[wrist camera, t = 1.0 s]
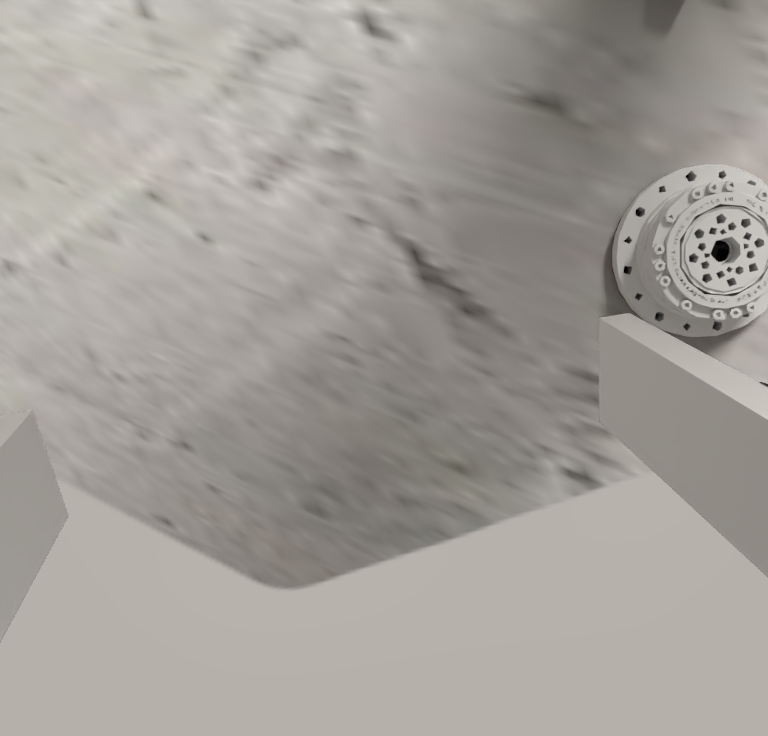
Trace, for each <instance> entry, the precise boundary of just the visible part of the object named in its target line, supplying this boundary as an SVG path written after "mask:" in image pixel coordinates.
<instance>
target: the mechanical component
mask: <svg viewBox="0 0 768 736" xmlns="http://www.w3.org/2000/svg"><path fill="white" fill-rule="evenodd" d="M686 175H689V181H688V180H687V178H686ZM659 189H660V191H659ZM636 209H637V210H638V211H639V212H640V214H639V216H636ZM694 233H695V234H694ZM695 235H696V236H695ZM626 239H627V242H624V240H626ZM718 240H721V241H725V242H726V243H727V244H720V245H719V246H717V245H716V244H715V241H718ZM718 248H719V249H720V250H728V257H727V259H726V260H724V261H722V262H718V261H717V260H716V256H717V252H718ZM624 266H627V273H623V271H624ZM612 267H613V271H614V274H615V278H616V282H617V285H618V289H619V291H620V292H621V294H622V296H623V297H624V299H625V300H626V302H627V303H628V305H629V306H630V308H631V309H632V310H633V311H634V312H635V313H636V314H637V315H639V316H640V317H641V318H642V319H643V320H645V321H646V322H648V323H650V324H651V325H653V326H655V327H656V328H658V329H661V330H664V331H667V332H670V333H673V334H678V335H682V336H687V337H706V336H719V335H722V334H724V333H727V332H730V331H732V330H735V329H738V328H741V327H743V326H745V325H747V324H748V323H749V322H751V321H752V320H753V319H755V318H756V317H758V316H759V315H760V314H762V313H763V312H764V311H765V310H766V309H767V308H768V185H767V184H765V183H764V182H763V181H762V180H761V179H759V178H758V177H756V176H754V175H752V174H750V173H748V172H746V171H744V170H742V169H739V168H735V167H731V166H727V165H723V164H702V165H697V166H692V167H687V168H682V169H679V170H677V171H674V172H672V173H670V174H668V175H666V176H664V177H662V178H660V179H659V180H657V181H655V182H653V183H651V184H650V185H649V186H648V187H647V188H646V189H644V190H643V191H642V192H641V193H640V194H639V195H638V196H636V197H635V199H634V200H633V201H632V203H631V204H630V206H629V207H628V209H627V210H626V212H625V213H624V215H623V216H622V218H621V221H620V223H619V226H618V228H617V231H616V233H615V237H614V243H613V248H612ZM636 294H637V298H635V296H636ZM656 313H658V314H659V316H658V317H657V318H656V320H655V315H656ZM714 323H715V325H714V327H713V324H714ZM683 326H684V327H683Z"/></svg>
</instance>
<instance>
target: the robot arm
mask: <svg viewBox="0 0 768 736" xmlns="http://www.w3.org/2000/svg"><path fill="white" fill-rule="evenodd" d="M599 422H601V423H602V424H603V425H604V426H605V427H606V428H607V429H608V430H609V431H610V432H611V433H612V434H613V435H615V436H616V437H617V438H618V439H619V440H620V441H621V442H622V443H623V444H624V445H625V446H626V447H628V448H629V449H630V450H631V451H632V452H633V453H634V454H635V455H636V456H637V457H638V458H639V459H640V460H642V461H643V462H644V463H645V464H646V465H647V466H648V467H649V468H650V469H651V470H652V471H653V472H655V473H656V474H657V475H658V476H659V477H660V478H661V479H662V480H663V481H664V482H665V483H667V485H669V486H670V487H671V488H672V489H673V490H674V491H675V492H676V493H677V494H678V495H679V496H680V497H682V498H683V499H684V500H685V501H686V502H687V503H688V504H689V505H690V506H691V507H692V508H693V509H694V510H696V511H697V512H698V513H699V514H700V515H701V516H702V517H703V518H704V519H705V520H706V521H707V522H709V523H710V524H711V525H712V526H713V527H714V528H715V529H716V530H717V531H718V532H719V533H720V534H721V535H723V536H724V537H725V538H726V539H727V540H728V541H729V542H730V543H731V544H732V545H733V546H734V547H736V548H737V549H738V550H739V551H740V552H741V553H742V554H743V555H744V556H745V557H746V558H747V559H749V560H750V561H751V562H752V563H753V564H754V565H755V566H756V567H757V568H758V569H759V570H760V571H761V572H763V573H764V574H765V575H766V576H767V577H768V384H766V383H762V382H757V381H755V380H753V379H751V378H749V377H748V376H746V375H744V374H742V373H740V372H738V371H736V370H735V369H733V368H731V367H729V366H727V365H725V364H723V363H722V362H720V361H718V360H716V359H714V358H712V357H710V356H708V355H707V354H705V353H703V352H701V351H699V350H697V349H695V348H694V347H692V346H690V345H688V344H686V343H684V342H682V341H681V340H679V339H677V338H675V337H673V336H671V335H669V334H668V333H666V332H664V331H662V330H660V329H658V328H656V327H655V326H653V325H651V324H649V323H647V322H645V321H643V320H641V319H640V318H638V317H636V316H634V315H632V314H630V313H625V314H619V315H613V316H607V317H601V318H599ZM67 518H68V513H67V510H66V507H65V504H64V501H63V498H62V495H61V492H60V489H59V486H58V483H57V480H56V477H55V474H54V471H53V468H52V465H51V462H50V460H49V457H48V454H47V451H46V448H45V445H44V442H43V439H42V436H41V433H40V430H39V427H38V424H37V421H36V418H35V415H34V412H33V410H29V411H23V412H17V413H10V414H4V415H0V642H1V640H2V638H3V636H4V635H5V633H6V631H7V629H8V627H9V625H10V624H11V622H12V620H13V618H14V616H15V614H16V612H17V610H18V609H19V607H20V605H21V603H22V601H23V599H24V598H25V596H26V594H27V592H28V590H29V588H30V586H31V585H32V583H33V581H34V579H35V577H36V575H37V573H38V572H39V570H40V567H41V566H42V564H43V562H44V560H45V559H46V556H47V555H48V553H49V551H50V549H51V547H52V546H53V544H54V542H55V540H56V538H57V536H58V534H59V532H60V531H61V529H62V527H63V525H64V523H65V521H66V519H67Z"/></svg>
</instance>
